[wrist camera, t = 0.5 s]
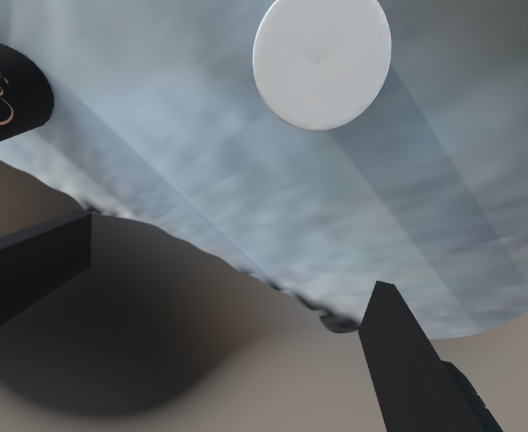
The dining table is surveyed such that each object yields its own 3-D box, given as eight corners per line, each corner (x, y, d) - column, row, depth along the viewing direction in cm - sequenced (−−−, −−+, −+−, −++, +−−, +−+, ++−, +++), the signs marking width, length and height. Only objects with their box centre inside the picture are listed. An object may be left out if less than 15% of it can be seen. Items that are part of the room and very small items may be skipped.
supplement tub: (345, 105, 34) (354, 152, 22) (269, 80, 34) (237, 115, 22) (385, 7, 29) (426, 0, 17) (294, -22, 29) (269, -50, 17)
